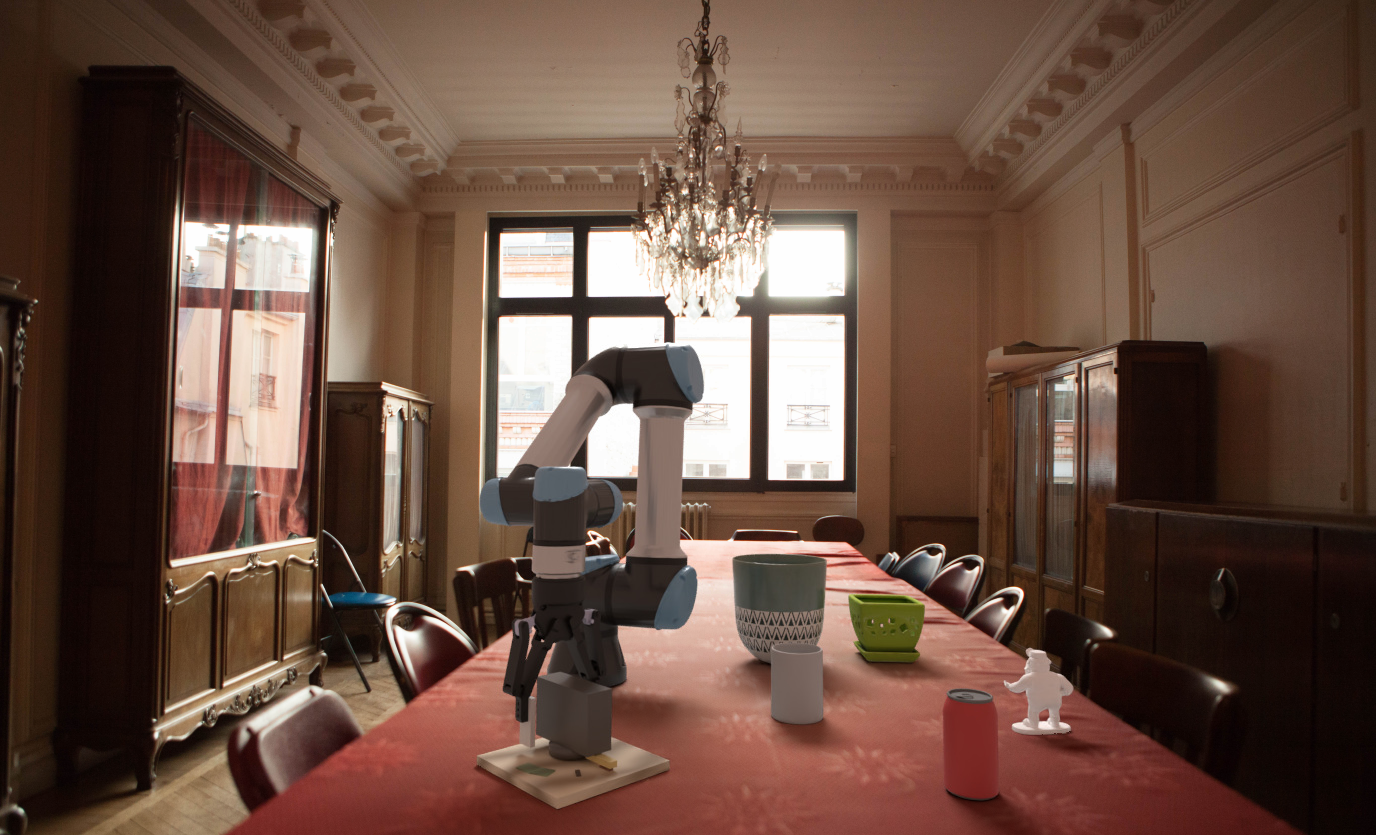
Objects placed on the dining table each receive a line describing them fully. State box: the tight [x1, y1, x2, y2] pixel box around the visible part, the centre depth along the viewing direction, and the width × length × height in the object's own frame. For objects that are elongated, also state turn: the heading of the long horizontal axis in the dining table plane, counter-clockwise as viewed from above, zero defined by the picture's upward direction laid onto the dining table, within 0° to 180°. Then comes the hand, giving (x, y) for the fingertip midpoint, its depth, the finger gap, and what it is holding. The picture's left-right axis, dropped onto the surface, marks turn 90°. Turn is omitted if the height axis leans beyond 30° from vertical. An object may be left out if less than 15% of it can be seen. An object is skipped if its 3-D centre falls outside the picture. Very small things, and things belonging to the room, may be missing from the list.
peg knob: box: [535, 672, 617, 769], centre depth 107 cm, size 15×6×9 cm, turn 44°
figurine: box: [1003, 647, 1074, 736], centre depth 123 cm, size 9×7×12 cm
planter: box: [731, 553, 828, 664], centre depth 165 cm, size 20×20×21 cm
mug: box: [770, 643, 824, 725], centre depth 130 cm, size 12×8×11 cm
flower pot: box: [848, 593, 926, 664], centre depth 169 cm, size 14×14×13 cm
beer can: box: [942, 687, 1000, 801], centre depth 99 cm, size 7×7×12 cm
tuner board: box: [476, 736, 671, 810], centre depth 106 cm, size 19×18×1 cm
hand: (555, 736), depth 110 cm, fingers open, 9 cm apart
